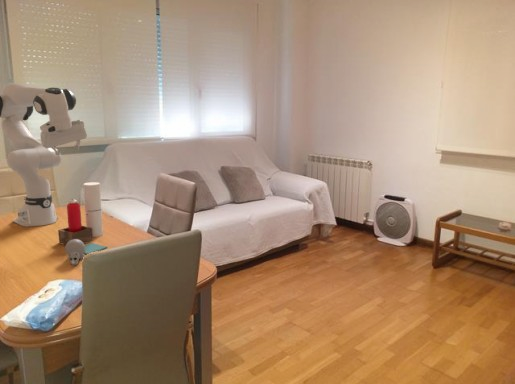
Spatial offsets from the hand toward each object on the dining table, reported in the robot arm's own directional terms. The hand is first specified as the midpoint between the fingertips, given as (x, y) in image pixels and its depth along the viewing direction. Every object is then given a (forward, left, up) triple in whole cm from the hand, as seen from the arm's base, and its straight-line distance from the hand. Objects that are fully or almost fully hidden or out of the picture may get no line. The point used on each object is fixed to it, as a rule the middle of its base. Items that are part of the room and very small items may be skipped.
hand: (67, 151), depth 194 cm
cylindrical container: (+15, 0, -39) cm, 42 cm away
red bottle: (+16, -12, -39) cm, 44 cm away
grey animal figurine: (+36, -28, -39) cm, 60 cm away
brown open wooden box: (+16, -12, -39) cm, 44 cm away
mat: (+29, -16, -39) cm, 51 cm away
